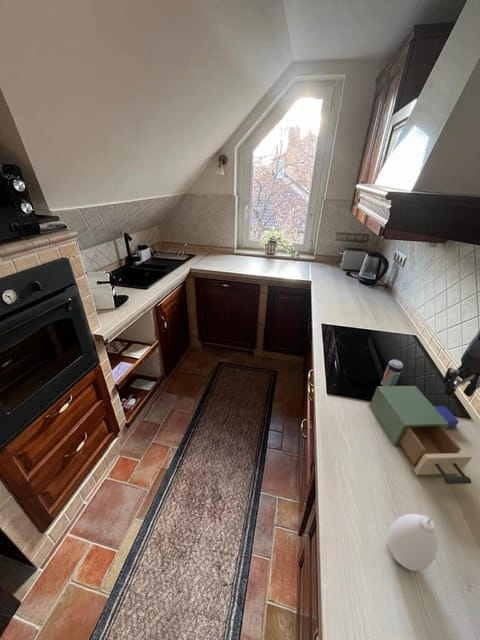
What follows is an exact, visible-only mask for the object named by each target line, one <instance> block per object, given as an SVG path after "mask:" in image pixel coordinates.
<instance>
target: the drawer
mask: <svg viewBox="0 0 480 640" xmlns="http://www.w3.org/2000/svg"><path fill="white" fill-rule="evenodd" d="M399 443H400V444H401V445H400V446H401V448H402V449H403V451H404V452H405V454H406V455H407V457H408V459H409V460H410V462H411V463H412V465H413V466H415V468H414V469H413V472H414V474H415V475H416V476H427V475H428V476H429V475H430V476H431V475H441V476H442V477H443V481H444V483H445V484H446V485H467V484H472V479H471V478H470V477H469V476H466V474H465V473H464V472H463V470H464V468H465V467H466V466H467V465H468V464H469V462H470V461H471V460H472V459H473V456H472V455H471V454H470V452H460V451H461V450H462V447H461V446H460V445H459V444H458V443H457V442H456V440H455V439H454V438H453V437H452V435H451V434H449V432H448V431H447V430H446V429H444V428H443V426H413V427H406V428H405V430H404V432H403V434H402V435H401V437H400V439H399ZM447 475H460V476H447Z"/></svg>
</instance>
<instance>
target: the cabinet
mask: <svg viewBox="0 0 480 640" xmlns="http://www.w3.org/2000/svg"><path fill="white" fill-rule="evenodd" d="M434 406H435V405H433V404H432V403H431V402H430V400H428V399H427V398H426V396H425V395H424V394H423V392H422V391H420V389H419V388H418V387H417V386H416V385H395V386H382V385H380V386H376V388H375V392H374V394H373V396H372V399H371V400H370V404H369V407H370V408H371V409H372V412H373V413H374V415H375V417H376V418H377V420H378V421H379V423H380V425H381V426H382V428H383V430H384V431H385V433H386V434H387V436H388V439H390V441H391V443H392V444H393V446H401V444H400V443H399V439H400V437H401V435H402V434H403V432H404V430H405V428H406V427H413V426H443V428H444V429H445V430H446V429H448V428H447V426H448V425H449V423H448V422H447V421H446V420H445V419H444V418H443V417H442V415H441V414H440V413H439V412H438V411H437V410H436V409H435V408H434Z"/></svg>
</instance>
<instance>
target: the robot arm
mask: <svg viewBox="0 0 480 640" xmlns="http://www.w3.org/2000/svg"><path fill="white" fill-rule="evenodd" d="M460 364H461V365H460V366H458V367H457V368H455V369H453V368H452V367H448V368H447V370H446V372H445V375H444V378H443V380H442V381H443V383H444V384H445V385H446V388H445V389H444V394H445V395H446V396H448V397H449V398H452V397H453V396H454V394H455V392H456V391H457V389H459V387H460V386H464V385H466V384H467V383H468V382H469V383H468V384H467V385H466V387H465V388H464V390H463V393H464V395H465V396H467V397H469V398H470V397H472V396H473V395H474V394H475V392H476V391H477V389H478V390H479V389H480V328H478V331H477V333H476V335H475V336H474V337H473V338H472V339H471V341H470V342H469V344H468V346H467V348H466V349H465V351H464V352H463V354H462V355H461V358H460ZM455 382H456V383H455Z"/></svg>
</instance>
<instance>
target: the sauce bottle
mask: <svg viewBox="0 0 480 640" xmlns="http://www.w3.org/2000/svg"><path fill="white" fill-rule="evenodd" d="M433 519H434V515H431V516H430V517H429V516H427V515H424V514H418V513H417V514H416V513H409V514H403V515H401V516H400V517H398V518H397V519H395V520H394V522H393V523H392V524H391V526H390V528H389V530H388V534H387V545H388V549H389V552H390V554H391V556H392V557H393V558H394V560H395V561H396V562H397V563H398V564H399V565H400V566H402V567H404V568H405V569H407V570H409V571H414V572H420V571H424V570H426V569H427V568H429V567H430V566H431V565H432V563H433V562H434V561H435V559H436V556H437V553H438V547H439V540H438V534H437V530H436V525H435V523H434V521H433Z"/></svg>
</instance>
